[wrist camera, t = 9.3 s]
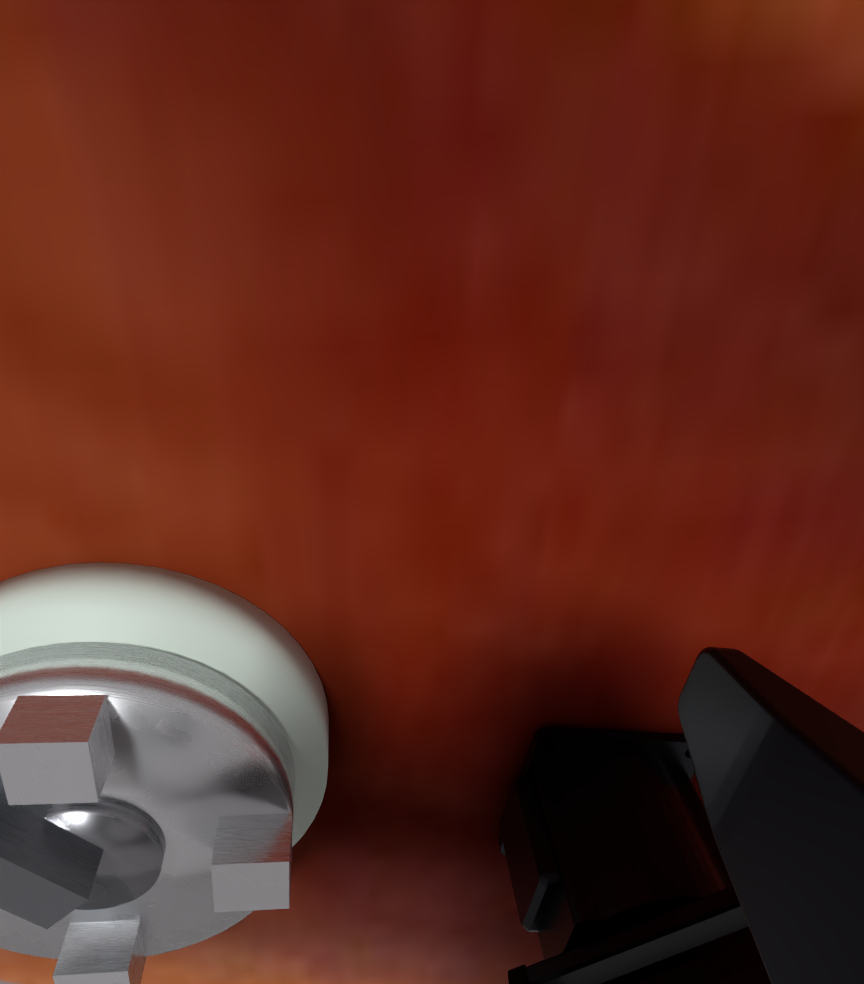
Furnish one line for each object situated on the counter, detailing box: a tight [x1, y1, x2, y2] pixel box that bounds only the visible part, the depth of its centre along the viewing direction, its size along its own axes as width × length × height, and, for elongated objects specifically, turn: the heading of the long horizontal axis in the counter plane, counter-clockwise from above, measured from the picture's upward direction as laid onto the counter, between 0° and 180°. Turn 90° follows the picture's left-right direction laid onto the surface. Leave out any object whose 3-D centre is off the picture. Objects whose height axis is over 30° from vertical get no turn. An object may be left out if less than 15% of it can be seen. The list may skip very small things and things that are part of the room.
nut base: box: [0, 562, 329, 847], centre depth 23 cm, size 13×13×2 cm
